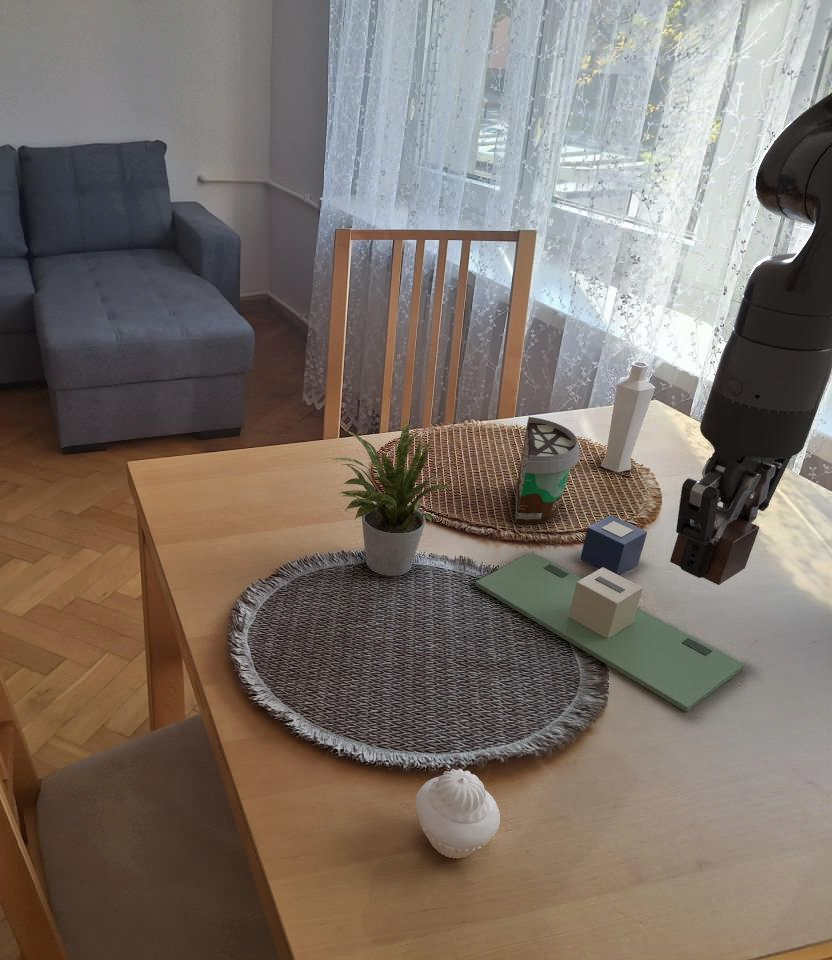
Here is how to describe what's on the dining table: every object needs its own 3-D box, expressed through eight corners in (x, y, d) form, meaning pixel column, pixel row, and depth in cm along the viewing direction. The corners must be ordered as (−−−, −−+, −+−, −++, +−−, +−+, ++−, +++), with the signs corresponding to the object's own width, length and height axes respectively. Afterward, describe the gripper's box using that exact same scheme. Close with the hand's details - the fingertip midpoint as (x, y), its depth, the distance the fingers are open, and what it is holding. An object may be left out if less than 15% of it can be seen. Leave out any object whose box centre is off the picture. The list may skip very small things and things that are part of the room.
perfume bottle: (630, 476, 116) (657, 373, 109) (596, 468, 118) (620, 367, 111) (636, 463, 120) (662, 361, 112) (602, 455, 122) (626, 355, 114)
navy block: (602, 547, 102) (610, 514, 99) (638, 564, 98) (647, 531, 96) (579, 559, 99) (587, 526, 97) (615, 578, 96) (624, 544, 94)
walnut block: (695, 546, 80) (709, 504, 78) (745, 568, 77) (760, 525, 75) (669, 562, 78) (682, 519, 76) (718, 585, 75) (733, 542, 73)
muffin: (403, 859, 65) (412, 795, 62) (418, 799, 70) (428, 737, 67) (487, 888, 63) (502, 823, 60) (497, 823, 68) (511, 760, 65)
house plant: (328, 520, 108) (335, 401, 100) (441, 529, 106) (458, 408, 98) (319, 586, 96) (327, 457, 88) (447, 599, 93) (467, 467, 85)
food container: (569, 537, 104) (585, 464, 99) (515, 529, 105) (528, 457, 100) (565, 488, 114) (580, 420, 109) (516, 482, 115) (528, 414, 111)
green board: (531, 556, 100) (532, 551, 100) (742, 669, 83) (744, 663, 82) (474, 585, 95) (475, 580, 95) (686, 712, 78) (688, 707, 78)
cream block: (593, 601, 92) (602, 566, 89) (633, 622, 88) (643, 586, 86) (567, 616, 89) (576, 581, 87) (607, 639, 86) (617, 603, 84)
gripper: (770, 427, 63) (707, 612, 71) (858, 382, 70) (790, 556, 78) (672, 394, 69) (623, 570, 77) (762, 356, 76) (708, 521, 84)
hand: (708, 562), depth 78 cm, fingers closed on walnut block, 4 cm apart
